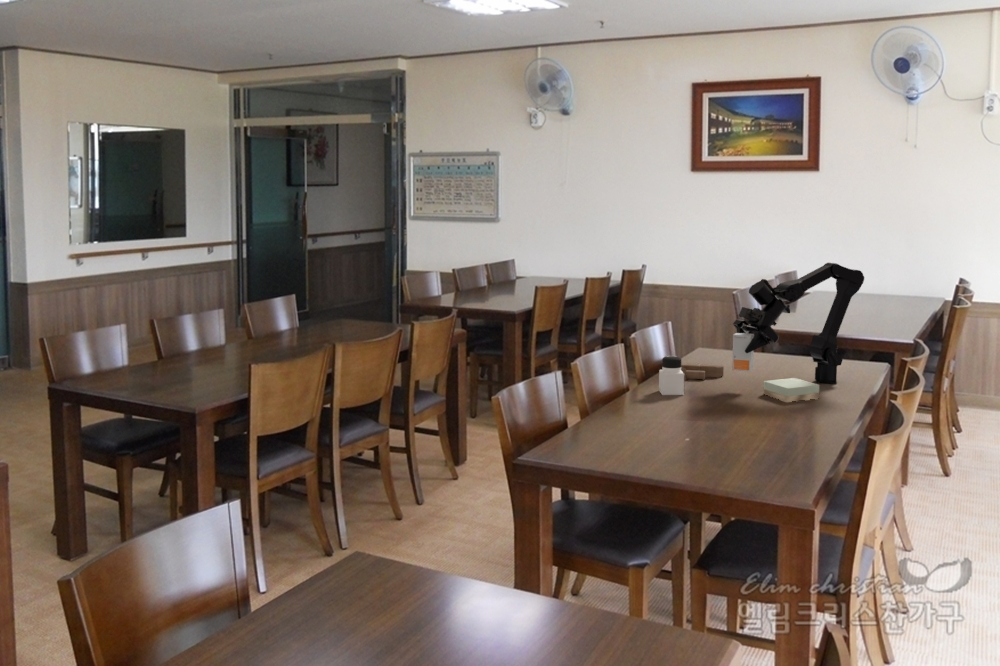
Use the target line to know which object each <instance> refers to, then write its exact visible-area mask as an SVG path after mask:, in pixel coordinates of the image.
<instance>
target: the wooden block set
mask: <svg viewBox="0 0 1000 666" xmlns="http://www.w3.org/2000/svg"><path fill="white" fill-rule="evenodd" d="M724 370H725V369H724V364H709V363H707V364H706V363H705V364H703V363H695V362H693V363H692V362H681V371H682V372H683V373H684V374H685V376H684V382H686V381H687V380H689V379H705V380H706V377H719V378H722V377H721V376H723V377H724ZM685 380H686V381H685Z"/></svg>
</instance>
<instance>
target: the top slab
mask: <svg viewBox="0 0 1000 666" xmlns="http://www.w3.org/2000/svg"><path fill="white" fill-rule="evenodd" d="M762 388H763V390H764V389H766V390H769V391H772V392H775V393H778V394H782V395H785V396H796V395H804V394H813V393H819V394H820V384H817V383H814V382H811V381H807V380H803V379H800V378H797V377H790V378H782V379H772V380H771V379H770V380H763V387H762Z"/></svg>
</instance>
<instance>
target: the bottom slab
mask: <svg viewBox="0 0 1000 666" xmlns="http://www.w3.org/2000/svg"><path fill="white" fill-rule="evenodd" d="M764 394H765V395H764ZM763 395H764V396H766V395H768V396H767V397H769V396H770V397H769V398H772V397H773V398H772V399H775V398H776V399H775V400H778V399H779V400H778V401H781V402H784V403H792V401H796V402H799V401H798V400H805V401H811V400H810V399H815V400H819V399H820V392H819V393H813V394H804V395H796V396H785V395H782V394H778V393H775V392H772V391H769V390H766V389H763ZM818 398H819V399H818Z"/></svg>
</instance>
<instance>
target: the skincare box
mask: <svg viewBox="0 0 1000 666" xmlns="http://www.w3.org/2000/svg"><path fill="white" fill-rule="evenodd" d="M753 338H754V333H752V334H748V333H737V332H736V333H733V334H732V346H733V348H732V356H731V357H732V364H731V365H732V366H731V371H736V372H737V371H738V372H748V373H751V372H752V371H753V370H754V352H755V350H753V351H751V352H749V353H746V352H745V350H746V348H747V346H748V345H749V343H750V342H751V341H752V339H753Z"/></svg>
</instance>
